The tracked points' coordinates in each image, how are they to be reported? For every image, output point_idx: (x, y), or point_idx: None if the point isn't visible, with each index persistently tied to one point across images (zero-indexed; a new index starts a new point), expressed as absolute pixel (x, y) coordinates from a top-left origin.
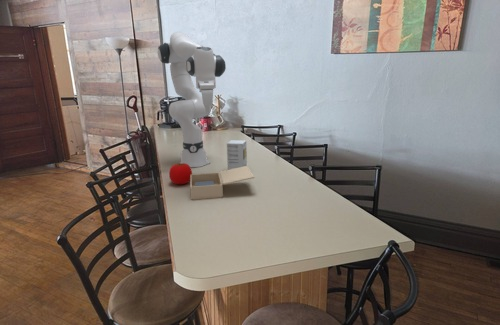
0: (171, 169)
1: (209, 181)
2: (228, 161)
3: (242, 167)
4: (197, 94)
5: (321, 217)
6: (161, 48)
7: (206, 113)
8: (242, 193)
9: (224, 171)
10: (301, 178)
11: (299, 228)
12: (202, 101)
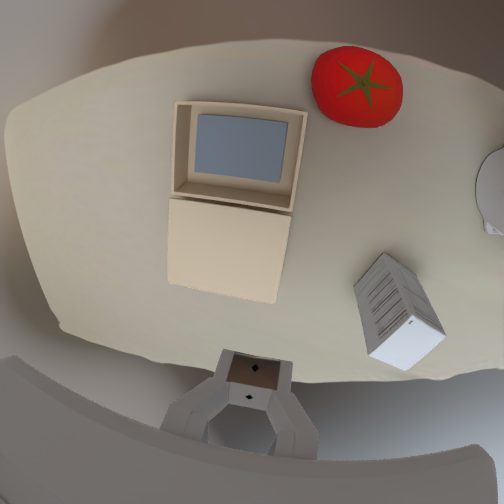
0: (344, 49)
1: (274, 168)
2: (390, 274)
3: (270, 288)
4: None
5: (92, 303)
6: None
7: (220, 362)
8: None
9: (278, 230)
10: None
11: (65, 263)
12: (468, 460)
